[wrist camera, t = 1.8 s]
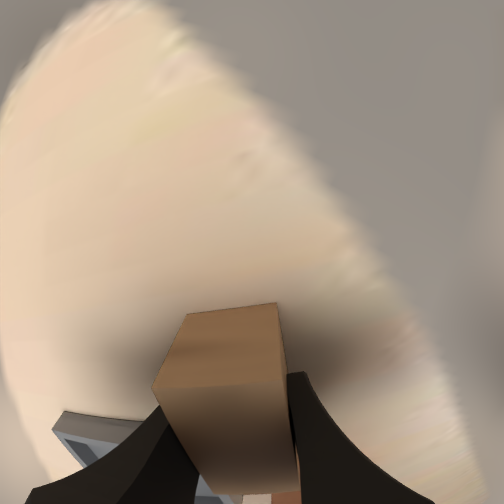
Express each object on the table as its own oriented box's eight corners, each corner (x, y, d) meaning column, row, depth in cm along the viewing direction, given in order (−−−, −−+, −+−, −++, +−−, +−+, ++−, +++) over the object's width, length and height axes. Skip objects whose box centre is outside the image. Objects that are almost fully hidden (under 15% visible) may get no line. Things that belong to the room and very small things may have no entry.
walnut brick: (294, 417, 12) (300, 490, 8) (224, 423, 12) (214, 494, 8) (276, 302, 10) (282, 379, 6) (186, 314, 10) (151, 387, 6)
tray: (242, 494, 14) (241, 514, 13) (122, 483, 15) (115, 499, 13) (207, 423, 12) (202, 450, 10) (63, 411, 13) (51, 429, 11)
